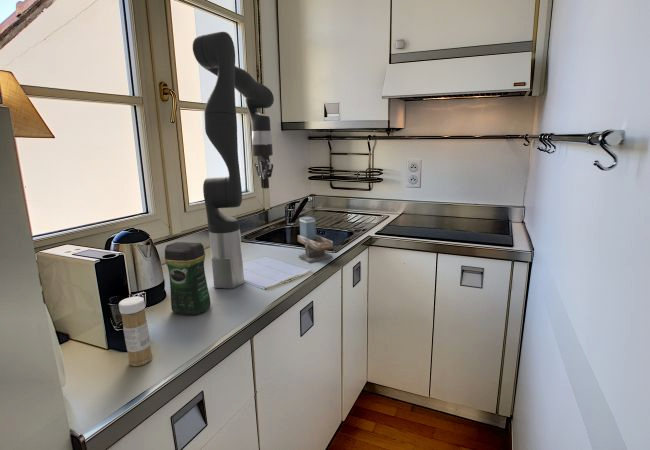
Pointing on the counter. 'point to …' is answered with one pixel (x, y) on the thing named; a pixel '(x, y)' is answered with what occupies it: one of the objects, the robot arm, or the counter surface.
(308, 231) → the blue gray lidded container
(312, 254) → the brown cleat
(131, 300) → the sprinkles bottle
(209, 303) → the coffee jar
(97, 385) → the counter surface
